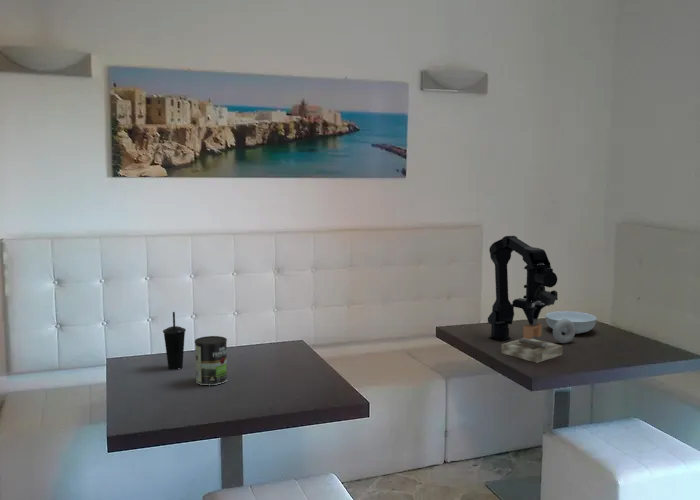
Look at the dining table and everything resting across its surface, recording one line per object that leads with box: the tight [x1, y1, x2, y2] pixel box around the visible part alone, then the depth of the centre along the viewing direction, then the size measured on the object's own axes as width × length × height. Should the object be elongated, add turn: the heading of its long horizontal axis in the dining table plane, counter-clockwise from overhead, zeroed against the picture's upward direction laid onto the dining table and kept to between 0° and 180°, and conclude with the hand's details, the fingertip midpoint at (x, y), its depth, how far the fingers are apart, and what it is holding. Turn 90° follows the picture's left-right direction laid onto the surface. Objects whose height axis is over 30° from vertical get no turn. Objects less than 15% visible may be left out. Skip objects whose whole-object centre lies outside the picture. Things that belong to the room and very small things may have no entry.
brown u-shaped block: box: [522, 318, 543, 339], centre depth 249 cm, size 3×8×7 cm, turn 130°
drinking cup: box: [162, 311, 187, 370], centre depth 231 cm, size 8×8×20 cm
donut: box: [552, 319, 576, 344], centre depth 265 cm, size 10×4×10 cm, turn 108°
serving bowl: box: [544, 310, 597, 335], centre depth 284 cm, size 21×21×7 cm
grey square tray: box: [500, 337, 564, 364], centre depth 250 cm, size 16×16×5 cm
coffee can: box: [194, 335, 228, 387], centre depth 217 cm, size 10×10×14 cm
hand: (532, 323), depth 249 cm, fingers closed on brown u-shaped block, 2 cm apart
